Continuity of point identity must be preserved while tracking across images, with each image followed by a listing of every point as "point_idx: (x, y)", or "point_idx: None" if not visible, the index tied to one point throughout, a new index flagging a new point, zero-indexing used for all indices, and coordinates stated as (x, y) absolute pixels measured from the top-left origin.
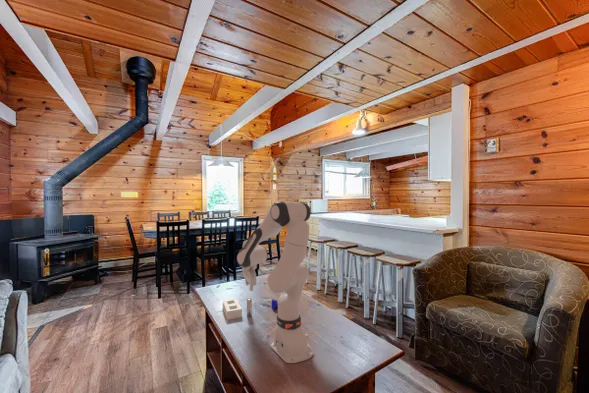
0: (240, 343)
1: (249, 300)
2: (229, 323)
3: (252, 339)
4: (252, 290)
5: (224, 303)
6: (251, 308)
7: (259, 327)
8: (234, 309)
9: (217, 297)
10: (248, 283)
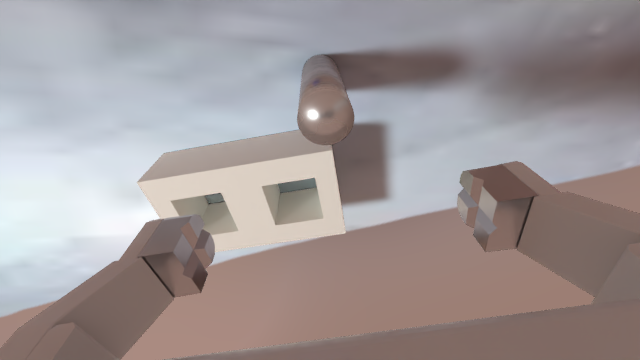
0: (604, 142)
1: (353, 119)
2: (383, 188)
3: (622, 77)
4: (518, 166)
5: (225, 247)
6: (333, 70)
7: (523, 10)
8: (328, 196)
9: (51, 249)
10: (185, 242)
